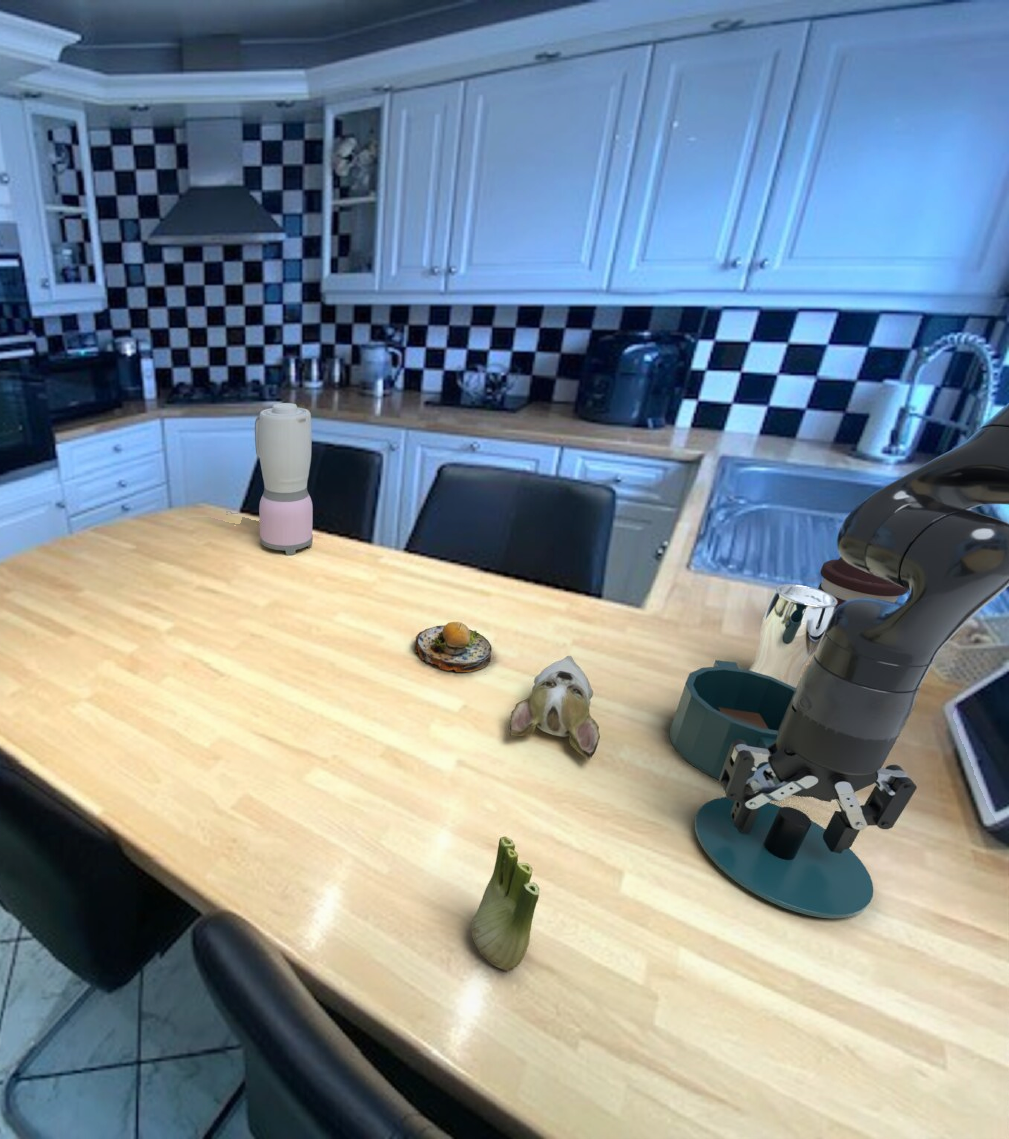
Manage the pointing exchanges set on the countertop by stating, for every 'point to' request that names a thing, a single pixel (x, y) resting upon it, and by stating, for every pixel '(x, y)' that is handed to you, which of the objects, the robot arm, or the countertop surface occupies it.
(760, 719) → the block
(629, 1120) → the countertop surface
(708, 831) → the lid
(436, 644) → the burger
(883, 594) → the coffee cup
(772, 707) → the pot
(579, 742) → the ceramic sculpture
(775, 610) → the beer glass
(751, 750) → the robot arm
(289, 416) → the blender
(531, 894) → the fennel bulb
